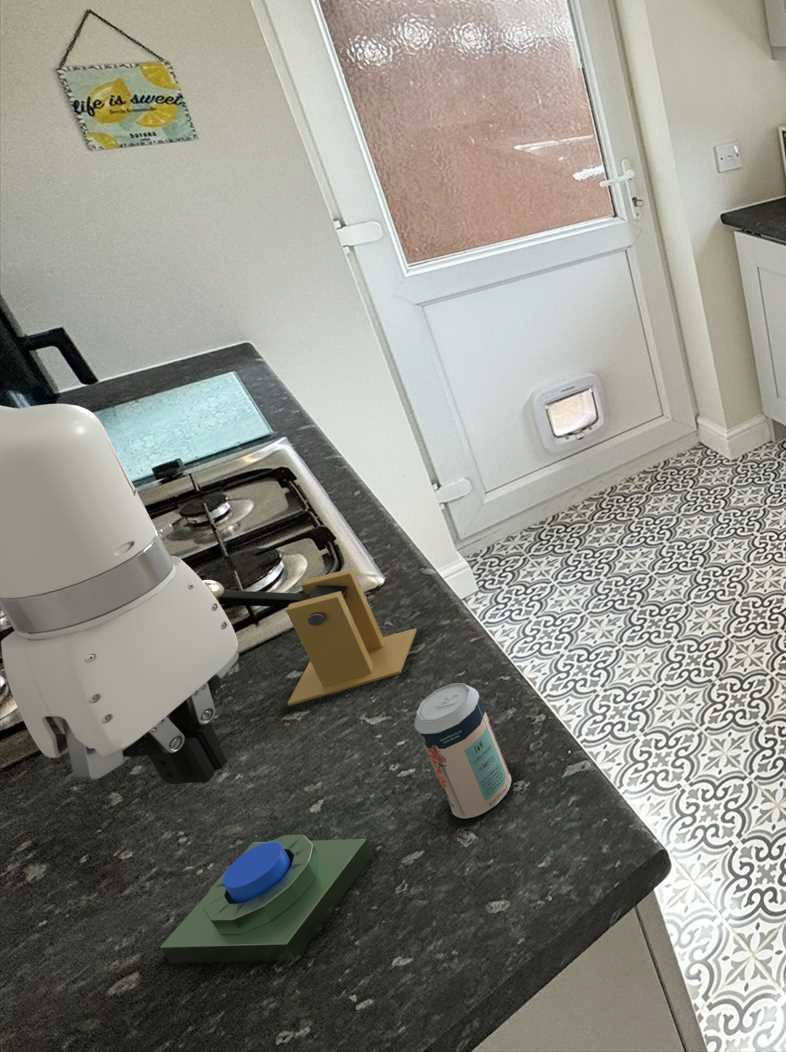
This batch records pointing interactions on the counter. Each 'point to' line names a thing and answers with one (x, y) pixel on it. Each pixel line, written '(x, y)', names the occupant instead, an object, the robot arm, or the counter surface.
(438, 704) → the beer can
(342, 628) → the bracket
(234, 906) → the button box
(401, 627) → the counter surface
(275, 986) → the counter surface
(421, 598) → the counter surface
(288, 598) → the black silver long piece
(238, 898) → the light button
